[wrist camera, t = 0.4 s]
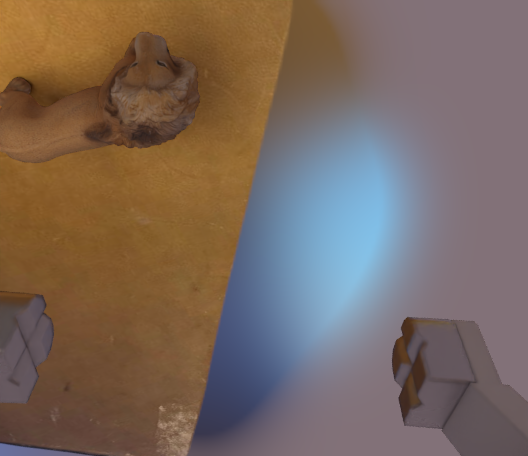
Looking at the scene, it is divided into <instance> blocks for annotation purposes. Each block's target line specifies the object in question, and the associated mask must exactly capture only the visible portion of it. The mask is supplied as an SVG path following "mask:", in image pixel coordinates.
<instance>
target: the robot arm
mask: <svg viewBox="0 0 528 456" xmlns="http://www.w3.org/2000/svg"><path fill="white" fill-rule="evenodd" d="M45 308H46V302H45V300H44V297H43V295H39V294H30V293H18V292H7V291H0V402H2V403H27V402H28V400H29V397H30V395H31V393H32V391H33V389H34V386H35V384H36V382H37V380H38V377H39V375H38V372H37V370H36V367H37V366H38V365H39V364H41V363H42V362H43V361H45V360H46V359H47V357H48V355H49V352H50V350H51V347H52V342H53V336H54V330H53V323H52V320H51V318H50V317H49V316H47V315H46V314H45V313H44V310H45ZM401 330H402V334H403V336H402V337H400V338H399V339H397V340H396V342H395V345H394V348H393V355H392V367H393V374H394V379H395V381H396V382H397V383H398V384H399V385H400V386H401V388H402V391H401V393H400V396H399V403H400V407H401V412H402V417H403V421H404V425H405V426H416V427H427V428H439V429H442V432H443V433H444V434H445V435H446V437H447V438H448V439H449V441H450V442H451V443H452V444H453V445H454V447H455V448H456V450H457V451H458V452H459V453H460V455H461V456H528V402H527V401H526V400H525V399H524V398H523V397H522V396H521V395H520V394H518V393H517V392H516V391H515V390H514V389H513V388H512V387H511V386H509V385H503V384H502V382H501V380H500V378H499V375H498V373H497V370H496V368H495V366H494V363H493V361H492V358H491V356H490V353H489V351H488V349H487V346H486V344H485V341H484V339H483V336H482V334H481V332H480V329H479V327H478V325H477V324H476V323H475V322H474V321H462V320H449V319H432V318H412V317H407V318H406V319H405V320H404V322H403V324H402V327H401Z"/></svg>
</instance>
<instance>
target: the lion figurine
mask: <svg viewBox="0 0 528 456" xmlns="http://www.w3.org/2000/svg"><path fill="white" fill-rule="evenodd" d="M197 78H198V72H197V70H196V67H195V65H194V64H192V63H191V62H190V61H186V60H185V59H184V58H178V57H175V56H172V55H170V53H169V50H168V48H167V45H166V41H165V39H164V38H163V37H161V36H158V35H153V34H152V33H149V32H140V33H139V34H138V35H137V36H136V38H134V39H133V40H132V41H131V43H130V45H129V47H128V49H127V51H126V53H125V56H124V58H123V59H121V60H120V61H119V62H118V63H116V64H115V66H114V68H113V70H112V71H111V72H110V74H109V75H108V77H107V78H106V80H105V81H104V83H103V84H102V86H96V87H91V88H87V89H85V90H82V91H79V92H77V93H74V94H71V95H69V96H66V97H64V98H62V99H60V100H58V101H57V102H55V103H54V104H52V105H51V106H48V107H43V106H41V105H40V104H38V103H37V101H36V100H35V99H34V98H33V97H31V96H30V95H29V93H30V91H31V90H30V84H29V83H27V81H26V80H24V79H22V78H18V77H17V78H14V79H13V80H12V81H11V82H10V83H9V84H8V86H7V87H6V88H5V90H4V91H3V92H1V93H0V106H2V107H1V109H0V151H2V152H4V153H6V154H7V155H8V156H9V157H11V158H13V159H16V160H19V161H22V162H31V163H41V162H46V161H49V160H51V159H53V158H55V157H58V156H61V155H64V154H67V153H72V152H78V151H83V150H88V149H94V148H99V147H103V146H106V145H111V144H116V145H117V146H120V145H125V146H126V147H128V148H133V147H138V148H147V147H150V146H153V145H160V144H161V143H163V142H166V141H168V140H172V139H175V137H176V135H177V134H179V133H180V132H181V130H184V129H185V128H186V127H187V126H188V125H190V124H191V123H192V119H193V118H194V117H195V111H196V108H197V106H198V104H199V102H200V101H199V98H200V95H199V92H198V81H197Z"/></svg>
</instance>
